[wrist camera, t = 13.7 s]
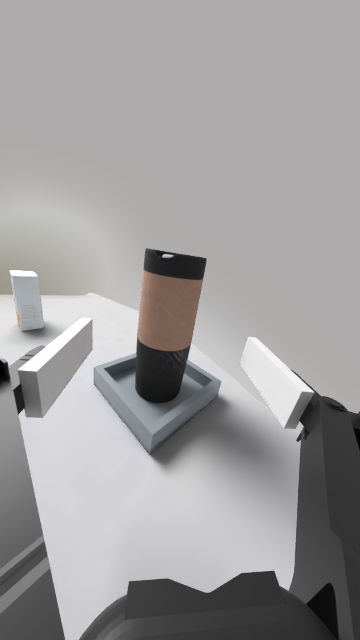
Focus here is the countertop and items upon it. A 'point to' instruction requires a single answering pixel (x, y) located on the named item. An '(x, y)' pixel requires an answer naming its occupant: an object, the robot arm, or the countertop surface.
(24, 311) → the skincare box
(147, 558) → the countertop surface
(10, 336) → the countertop surface
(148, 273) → the travel mug
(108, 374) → the tray
